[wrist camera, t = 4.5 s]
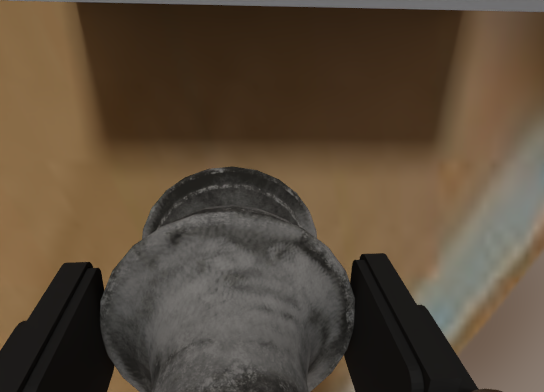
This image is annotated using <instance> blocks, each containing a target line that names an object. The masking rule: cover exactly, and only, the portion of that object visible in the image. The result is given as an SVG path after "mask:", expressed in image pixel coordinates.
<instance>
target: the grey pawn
mask: <svg viewBox="0 0 544 392" xmlns="http://www.w3.org/2000/svg"><path fill="white" fill-rule="evenodd" d="M354 318H355V297H354V294H353V291H352V288H351V285H350V282H349V279H348V276H347V273H346V271H345V269H344V268H343V267H342V265H341V264H340V263H339V261H338V260H337V259H336V257H335V256H334V254H333V253H332V252H331V250H330V249H329V248H328V247H327V246H326V245H325V244H323V243H322V242H321V241H319V240H318V239H317V234H316V229H315V226H314V223H313V220H312V217H311V214H310V212H309V210H308V208H307V207H306V205H305V204H304V203H303V201H302V200H301V199H300V197H299V196H298V195H297V193H296V192H294V191H293V190H292V189H291V188H289V187H288V186H287V185H285V184H284V183H283V182H281V181H280V180H279V179H277V178H274V177H272V176H270V175H267V174H265V173H262V172H260V171H258V170H252V169H245V168H238V167H224V168H214V169H207V170H204V171H201V172H199V173H196V174H193V175H190V176H188V177H185V178H184V179H182V180H181V181H179V182H178V183H176V184H175V185H174V186H172V187H171V188H169V189H168V190H166V191H165V193H164V194H163V195H162V196H161V197H160V199H159V200H158V201H157V202H156V204H155V205H154V206H153V207H152V209H151V211H150V214H149V216H148V219H147V221H146V224H145V226H144V228H143V236H142V240H141V241H139V242H138V243H137V244H135V245H134V246H132V248H131V249H130V250H129V251H128V253H127V254H126V255H125V256H124V257H123V259H122V260H121V261H120V262H119V263H118V265H117V266H116V267H115V268H114V270H113V271H112V273H111V276H110V278H109V281H108V283H107V286H106V288H105V291H104V293H103V296H102V298H101V302H100V328H101V333H102V338H103V342H104V346H105V349H106V352H107V355H108V356H109V358H110V359H111V361H112V362H113V364H114V365H115V367H116V368H117V370H118V371H119V372H120V374H121V375H122V377H123V378H124V379H125V380H127V381H128V382H129V383H130V384H131V385H132V386H134V387H135V388H136V389H137V390H138V391H140V392H311V391H312V390H313V389H314V388H315V387H316V386H317V385H318V384H320V383H321V382H322V381H323V380H324V379H325V378H326V377H327V376H328V375H330V374H331V373H332V371H333V370H334V368H335V367H336V365H337V364H338V363H339V361H340V360H341V358H342V357H343V355H344V354H345V352H346V351H347V348H348V345H349V342H350V339H351V336H352V333H353V328H354Z"/></svg>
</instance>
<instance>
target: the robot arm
mask: <svg viewBox="0 0 544 392" xmlns="http://www.w3.org/2000/svg"><path fill="white" fill-rule="evenodd" d="M350 285H351V288H352V291H353V294H354V297H355V318H354V328H353V333H352V336H351V339H350V342H349V345H348V348H347V351H346V352H345V354H344V356H345V360H346V364H347V367H348V370H349V373H350V376H351V379H352V382H353V385H354V389H355V392H502V391H499V390H492V389H478V388H477V386H476V384H475V383H474V381H473V380H472V378H471V377H470V375H469V374H468V372H467V370H466V369H465V367H464V366H463V364H462V363H461V361H460V359H459V358H458V356H457V355H456V353H455V352H454V350H453V349H452V347H451V345H450V344H449V342H448V341H447V339H446V338H445V336H444V334H443V333H442V331H441V330H440V328H439V327H438V325H437V324H436V322H435V320H434V319H433V317H432V316H431V314H430V313H429V311H428V310H427V309H426V307H425V306H423V305H417V304H416V303H415V301H414V299H413V298H412V296H411V295H410V293H409V291H408V290H407V288H406V286H405V285H404V283H403V282H402V280H401V278H400V277H399V275H398V273H397V272H396V270H395V268H394V267H393V265H392V264H391V262H390V260H389V259H388V257H387V256H386V254H384V253H380V254H362V255H361V256H360V260H354V261H353V264H352V272H351V281H350ZM103 293H104V287H103V280H102V274H101V270H100V269H99V268H93V266H92V264H91V263H90V262H76V263H64V264H63V265H62V266H61V268H60V269H59V271H58V273H57V274H56V276H55V277H54V279H53V280H52V282H51V284H50V285H49V287H48V288H47V290H46V292H45V293H44V295H43V296H42V298H41V299H40V301H39V303H38V304H37V306H36V307H35V309H34V310H33V312H32V314H31V315H30V317H29V318H28V320H27V321H23V322H21V323H19V324H18V325H17V327H16V328H15V329H14V331H13V332H12V334H11V335H10V337H9V338H8V340H7V341H6V343H5V344H4V346H3V347H2V349H1V350H0V392H107V390H108V387H109V383H110V380H111V377H112V374H113V370H114V364H113V362H112V361H111V359H110V358H109V356H108V355H107V352H106V349H105V346H104V342H103V338H102V333H101V328H100V302H101V298H102V296H103Z"/></svg>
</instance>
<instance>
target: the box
mask: <svg viewBox="0 0 544 392" xmlns="http://www.w3.org/2000/svg"><path fill="white" fill-rule="evenodd" d="M10 1H57V2H103V3H150V4H197V5H243V6H290V7H337V8H383V9H430V10H477V11H523V12H544V0H10Z"/></svg>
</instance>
